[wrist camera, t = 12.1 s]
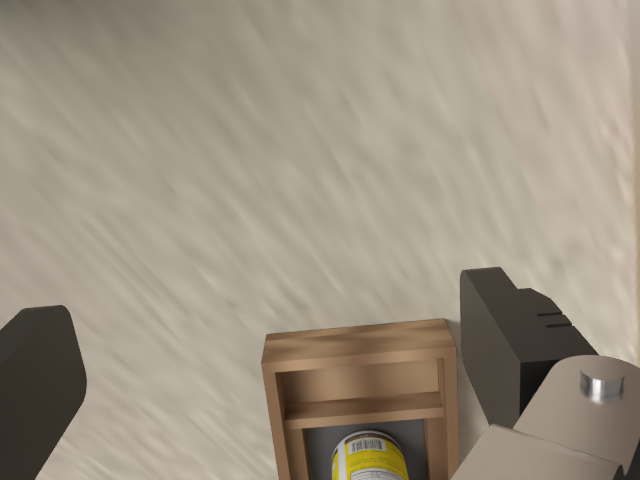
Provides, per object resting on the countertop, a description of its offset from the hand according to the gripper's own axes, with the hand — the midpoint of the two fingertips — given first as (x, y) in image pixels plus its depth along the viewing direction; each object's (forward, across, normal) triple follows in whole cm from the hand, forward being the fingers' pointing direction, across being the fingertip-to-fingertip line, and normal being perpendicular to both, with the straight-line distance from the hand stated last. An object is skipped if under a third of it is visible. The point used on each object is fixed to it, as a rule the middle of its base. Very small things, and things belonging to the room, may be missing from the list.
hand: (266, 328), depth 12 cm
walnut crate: (+28, -2, +23) cm, 36 cm away
